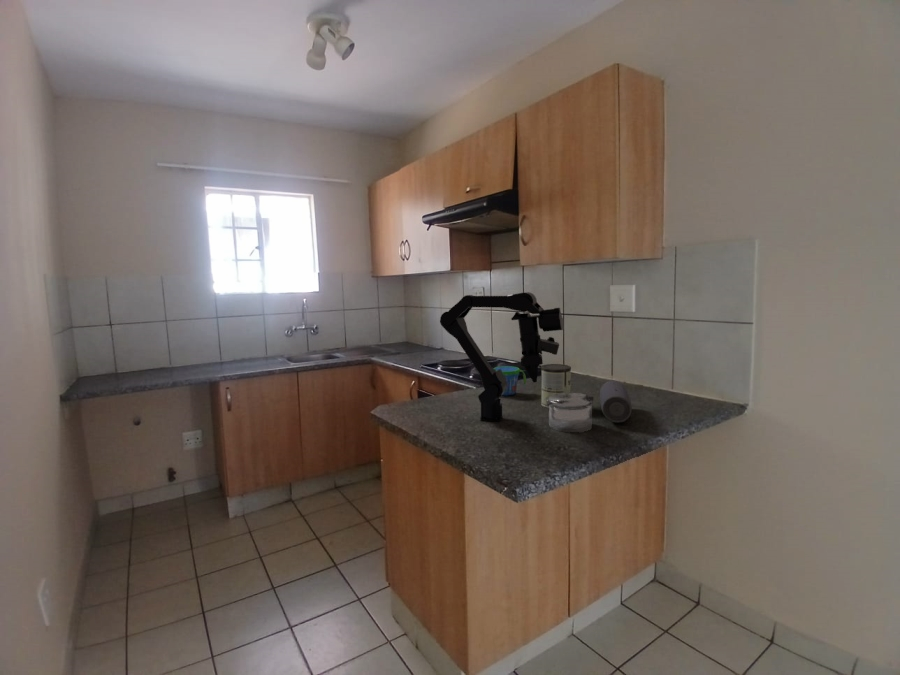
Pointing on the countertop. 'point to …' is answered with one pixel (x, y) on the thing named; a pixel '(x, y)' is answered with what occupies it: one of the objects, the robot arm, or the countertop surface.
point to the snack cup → (511, 378)
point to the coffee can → (555, 380)
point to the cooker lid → (570, 400)
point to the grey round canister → (570, 418)
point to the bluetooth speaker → (615, 401)
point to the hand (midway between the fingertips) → (535, 382)
